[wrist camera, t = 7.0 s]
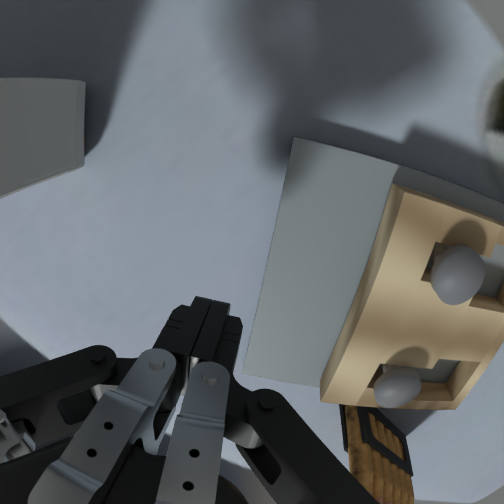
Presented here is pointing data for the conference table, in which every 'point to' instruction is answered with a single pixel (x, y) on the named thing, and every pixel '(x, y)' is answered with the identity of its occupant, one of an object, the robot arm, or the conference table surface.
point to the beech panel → (416, 307)
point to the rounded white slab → (39, 130)
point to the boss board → (350, 265)
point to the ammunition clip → (377, 454)
